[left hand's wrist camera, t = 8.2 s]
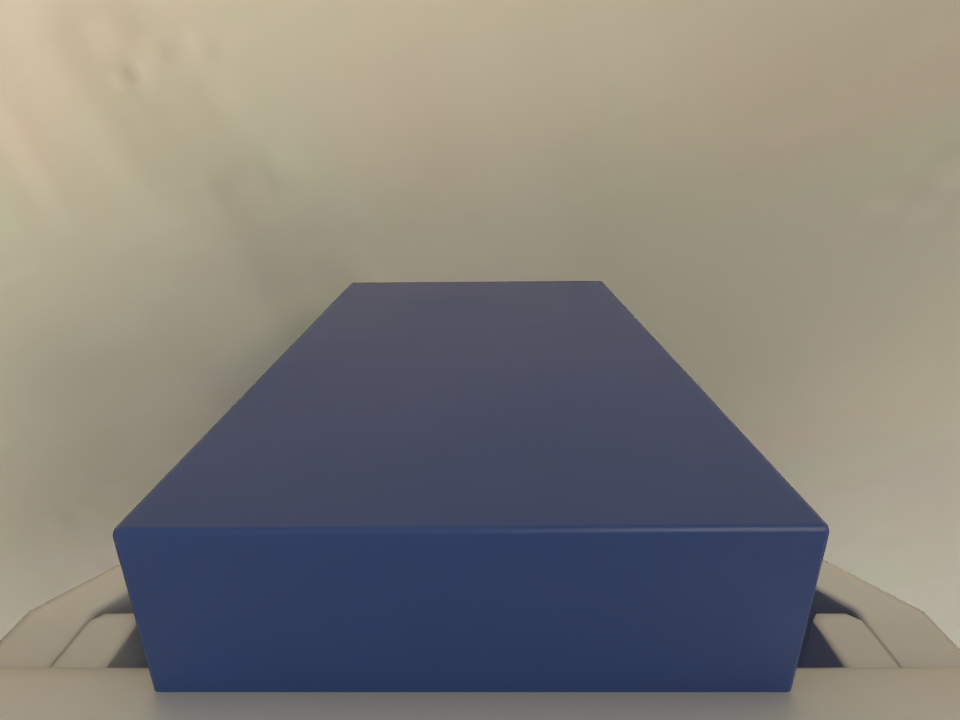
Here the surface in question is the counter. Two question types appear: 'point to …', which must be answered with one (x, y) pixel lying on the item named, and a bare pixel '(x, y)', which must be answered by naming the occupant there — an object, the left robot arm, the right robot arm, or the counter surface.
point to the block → (473, 513)
